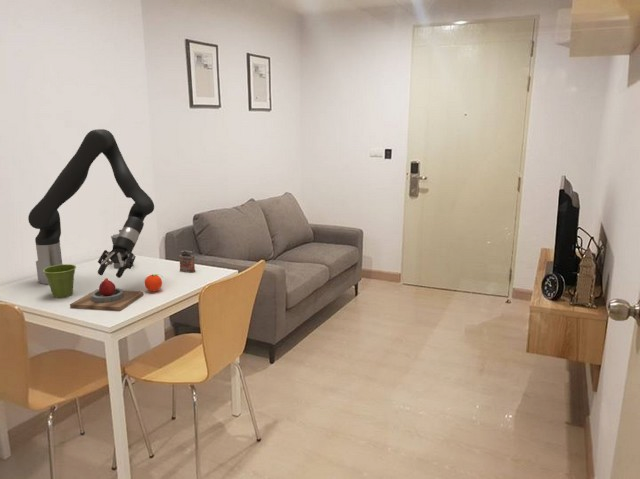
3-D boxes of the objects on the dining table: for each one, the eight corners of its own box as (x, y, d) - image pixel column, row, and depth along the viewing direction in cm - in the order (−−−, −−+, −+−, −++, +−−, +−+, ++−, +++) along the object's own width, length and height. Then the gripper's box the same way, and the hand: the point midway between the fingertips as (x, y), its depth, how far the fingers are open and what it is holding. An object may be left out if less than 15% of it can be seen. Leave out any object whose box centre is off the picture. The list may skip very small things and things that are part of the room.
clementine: (160, 286, 214) (159, 270, 213) (168, 290, 209) (166, 274, 208) (142, 290, 209) (140, 274, 207) (149, 294, 204) (148, 278, 202)
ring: (85, 301, 191) (85, 296, 191) (102, 292, 202) (102, 287, 202) (113, 303, 190) (113, 298, 189) (129, 293, 201) (128, 288, 200)
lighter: (178, 271, 237) (176, 250, 235) (182, 269, 240) (181, 249, 238) (192, 273, 234) (191, 252, 232) (196, 271, 237) (195, 250, 235)
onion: (107, 301, 192) (103, 282, 190) (97, 298, 195) (94, 279, 193) (119, 295, 197) (116, 276, 195) (110, 293, 200) (107, 274, 197)
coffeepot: (107, 265, 245) (104, 229, 241) (125, 261, 253) (122, 226, 249) (124, 271, 236) (121, 234, 232) (142, 267, 243) (139, 230, 239)
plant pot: (41, 295, 203) (37, 268, 200) (71, 288, 211) (68, 262, 209) (53, 302, 195) (50, 274, 193) (84, 294, 204) (81, 267, 201)
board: (70, 308, 189) (69, 304, 189) (97, 292, 206) (97, 289, 206) (120, 311, 186) (119, 307, 186) (143, 295, 204) (143, 291, 203)
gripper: (106, 234, 203) (88, 269, 195) (136, 237, 199) (118, 272, 190) (116, 244, 209) (99, 278, 201) (145, 247, 205) (129, 282, 197)
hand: (108, 275), depth 196 cm, fingers open, 8 cm apart
